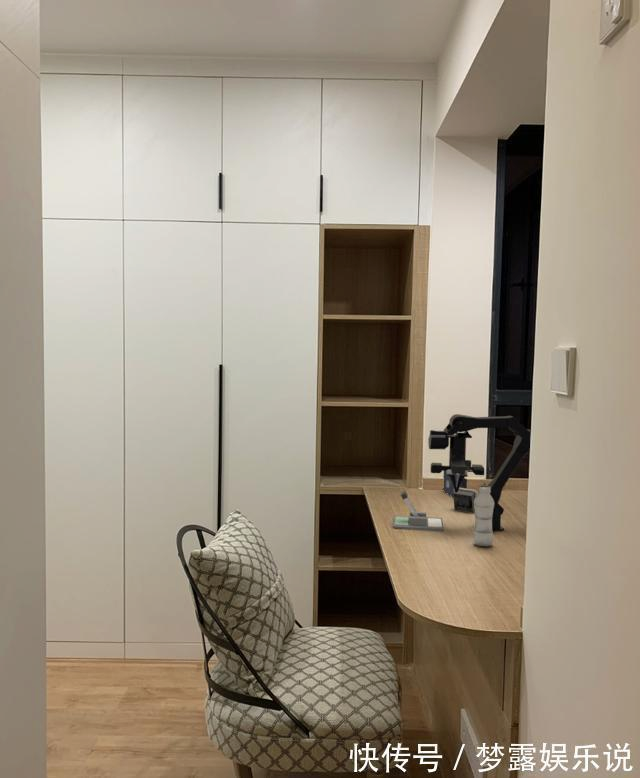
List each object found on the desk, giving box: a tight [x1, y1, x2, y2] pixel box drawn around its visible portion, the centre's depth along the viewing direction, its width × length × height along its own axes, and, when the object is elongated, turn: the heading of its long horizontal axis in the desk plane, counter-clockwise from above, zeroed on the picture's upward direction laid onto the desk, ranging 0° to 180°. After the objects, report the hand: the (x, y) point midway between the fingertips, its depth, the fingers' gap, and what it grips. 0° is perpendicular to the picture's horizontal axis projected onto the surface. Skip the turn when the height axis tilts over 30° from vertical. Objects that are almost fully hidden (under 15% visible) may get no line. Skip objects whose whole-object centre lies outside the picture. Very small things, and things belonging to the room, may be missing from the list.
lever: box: [400, 490, 420, 517], centre depth 230 cm, size 2×4×12 cm
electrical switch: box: [452, 488, 478, 514], centre depth 248 cm, size 9×5×9 cm, turn 57°
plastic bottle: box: [472, 484, 494, 547], centre depth 206 cm, size 6×7×20 cm
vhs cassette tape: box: [442, 471, 468, 498], centre depth 271 cm, size 18×3×10 cm, turn 12°
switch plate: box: [392, 510, 445, 532], centre depth 230 cm, size 18×14×4 cm
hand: (456, 492), depth 225 cm, fingers closed
